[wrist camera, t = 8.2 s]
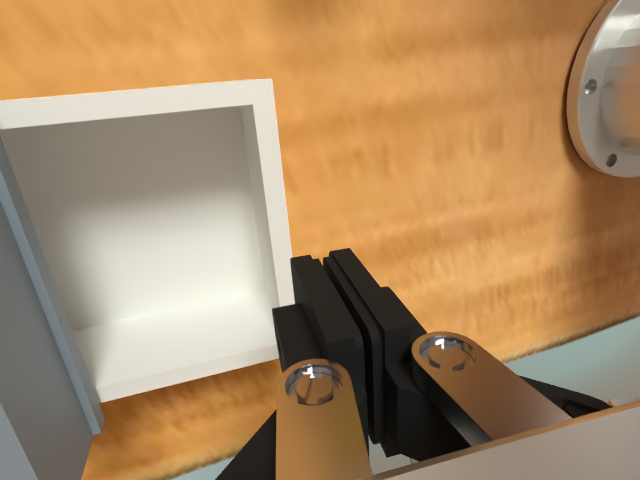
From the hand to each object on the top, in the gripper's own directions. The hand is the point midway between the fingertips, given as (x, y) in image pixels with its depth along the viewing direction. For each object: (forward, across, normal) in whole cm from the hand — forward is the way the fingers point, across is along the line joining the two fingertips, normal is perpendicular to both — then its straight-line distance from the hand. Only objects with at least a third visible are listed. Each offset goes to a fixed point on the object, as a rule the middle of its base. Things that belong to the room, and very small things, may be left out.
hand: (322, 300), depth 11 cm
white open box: (+12, +7, 0) cm, 14 cm away
